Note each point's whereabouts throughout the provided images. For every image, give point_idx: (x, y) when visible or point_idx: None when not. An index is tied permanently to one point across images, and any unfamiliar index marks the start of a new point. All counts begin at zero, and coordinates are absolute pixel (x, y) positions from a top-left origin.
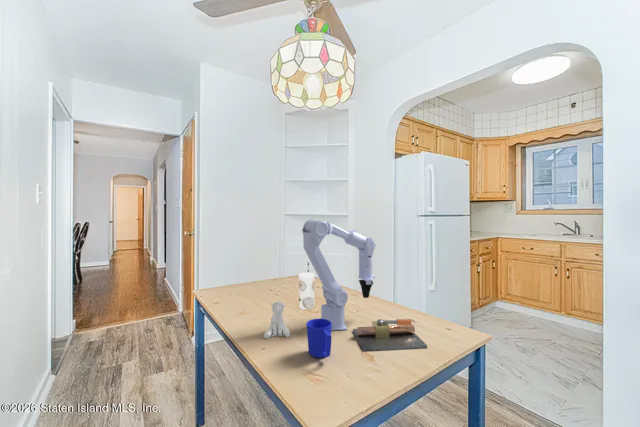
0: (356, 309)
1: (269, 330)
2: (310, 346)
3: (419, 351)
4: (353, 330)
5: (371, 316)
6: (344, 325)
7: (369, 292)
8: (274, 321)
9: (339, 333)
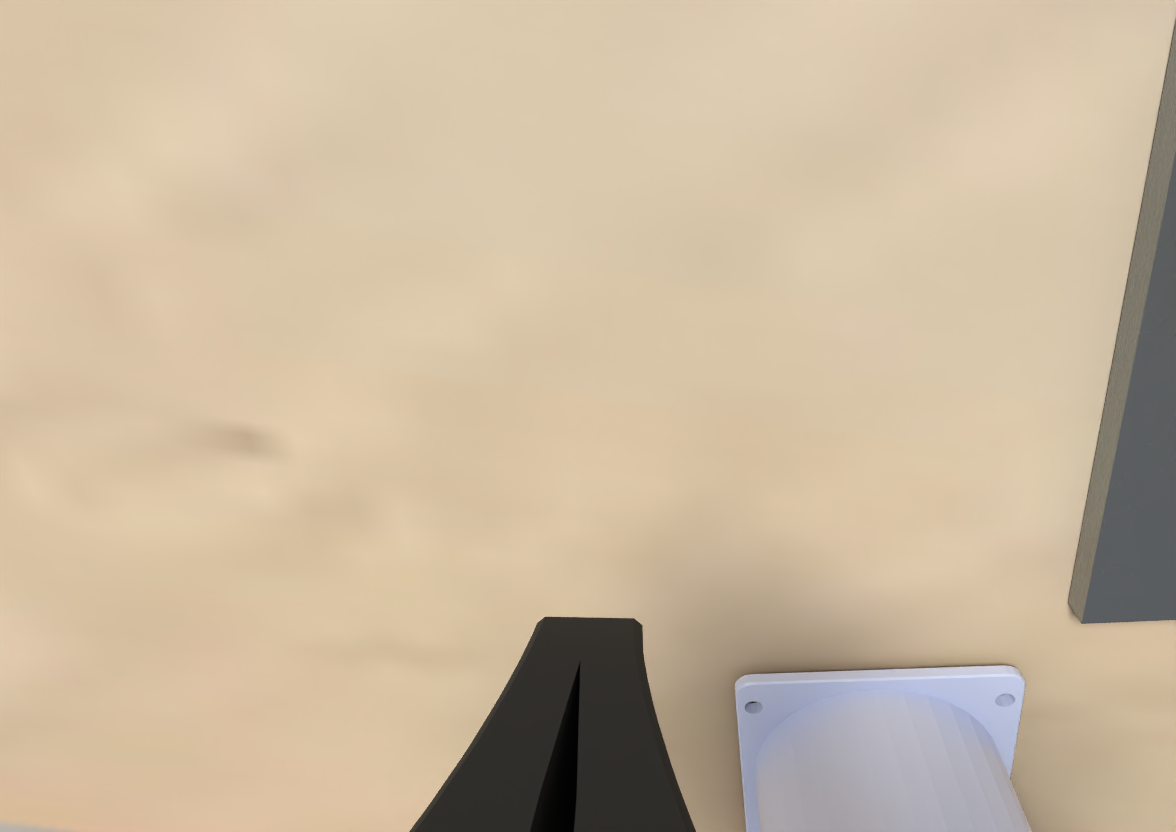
0: (169, 453)
1: None
2: None
3: None
4: (1124, 617)
5: (469, 253)
6: (907, 690)
7: (666, 754)
8: None
9: (1096, 738)
